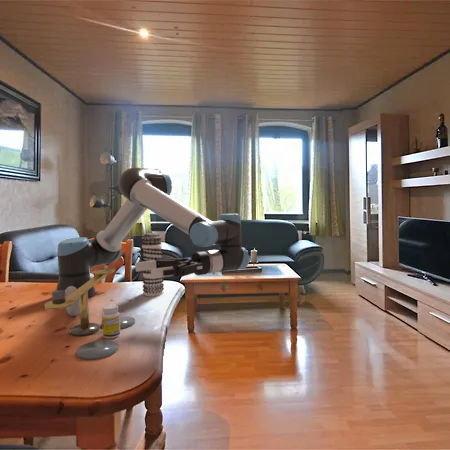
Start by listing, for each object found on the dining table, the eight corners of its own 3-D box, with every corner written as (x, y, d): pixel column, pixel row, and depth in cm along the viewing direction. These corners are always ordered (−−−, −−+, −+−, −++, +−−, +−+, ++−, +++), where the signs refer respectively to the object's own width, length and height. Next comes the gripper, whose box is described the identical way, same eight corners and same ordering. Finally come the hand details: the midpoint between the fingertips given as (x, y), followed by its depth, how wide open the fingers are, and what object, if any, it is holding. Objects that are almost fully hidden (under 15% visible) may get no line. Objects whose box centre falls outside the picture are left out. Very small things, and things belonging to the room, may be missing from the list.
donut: (63, 313, 122) (61, 284, 122) (73, 311, 125) (72, 283, 124) (72, 320, 115) (70, 289, 114) (83, 317, 117) (81, 288, 116)
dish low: (67, 356, 87) (67, 353, 87) (94, 341, 97) (94, 338, 97) (101, 361, 84) (101, 358, 84) (126, 345, 94) (125, 342, 94)
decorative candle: (138, 295, 143) (136, 234, 142) (147, 290, 153) (145, 232, 151) (160, 296, 142) (158, 234, 140) (167, 290, 151) (165, 232, 150)
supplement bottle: (105, 332, 103) (104, 304, 103) (122, 332, 104) (120, 303, 103) (101, 339, 98) (99, 309, 98) (118, 338, 99) (117, 308, 98)
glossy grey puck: (94, 327, 108) (94, 325, 107) (114, 317, 117) (114, 314, 117) (123, 330, 104) (122, 328, 104) (141, 319, 114) (141, 317, 114)
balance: (39, 346, 94) (35, 285, 93) (101, 316, 119) (99, 267, 117) (63, 350, 91) (60, 287, 90) (122, 318, 116) (120, 268, 115)
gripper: (226, 280, 106) (159, 291, 95) (189, 268, 127) (130, 276, 116) (225, 255, 105) (158, 263, 94) (188, 247, 126) (129, 253, 115)
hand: (143, 270), depth 105 cm, fingers open, 13 cm apart
